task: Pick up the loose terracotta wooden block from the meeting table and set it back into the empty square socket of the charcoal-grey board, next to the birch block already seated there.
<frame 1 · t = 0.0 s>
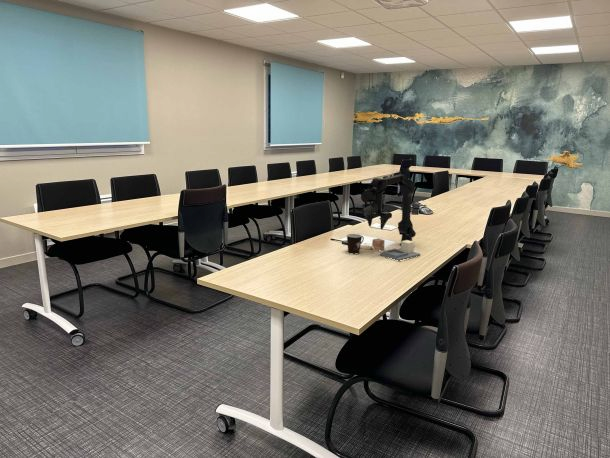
hand: (375, 227, 242), 15 cm above the table, tool pointing down, fingers open, 9 cm apart
coffee mug: (356, 252, 245), on the table
socket board: (399, 255, 240), on the table
terracotta block: (378, 249, 252), on the table
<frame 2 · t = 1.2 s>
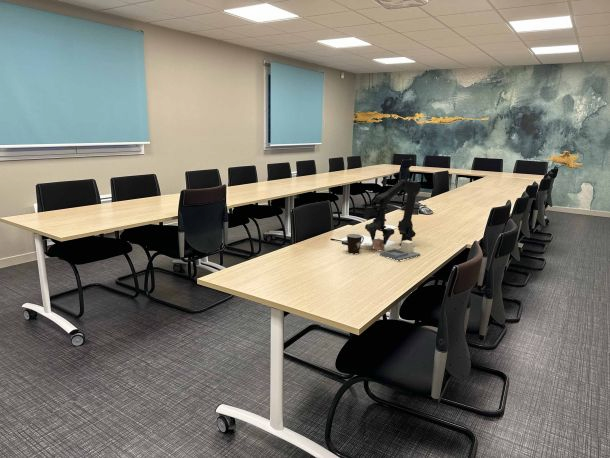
hand: (378, 243, 251), 4 cm above the table, tool pointing down, fingers open, 9 cm apart
nothing on the table moved.
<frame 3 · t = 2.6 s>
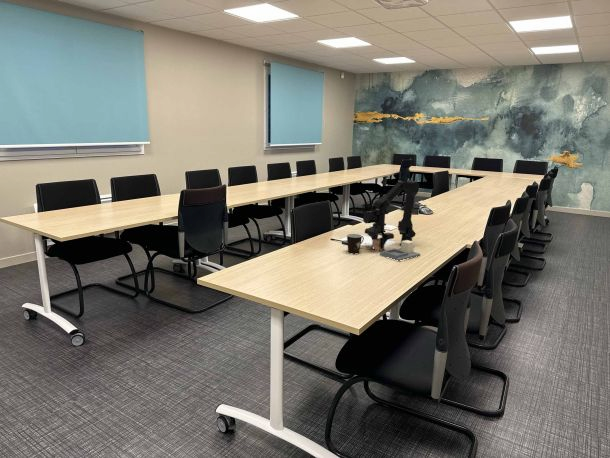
hand: (378, 247, 252), 1 cm above the table, tool pointing down, fingers closed on terracotta block, 5 cm apart
terracotta block: (378, 249, 252), on the table, touching gripper
everything else where it was.
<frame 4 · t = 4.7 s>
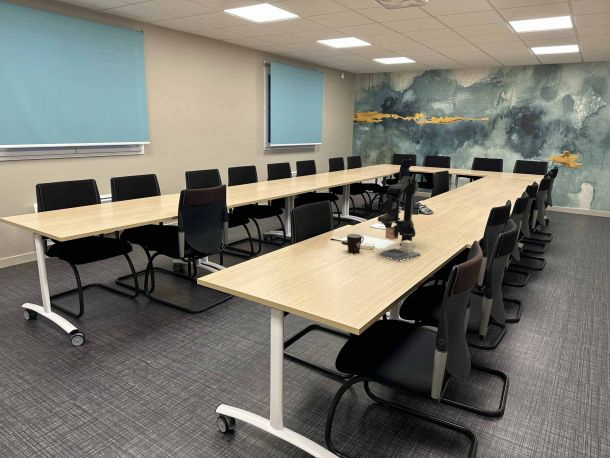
hand: (392, 236, 238), 11 cm above the table, tool pointing down, fingers closed on terracotta block, 5 cm apart
terracotta block: (391, 238, 238), point 10 cm above the table, touching gripper
everything else where it was.
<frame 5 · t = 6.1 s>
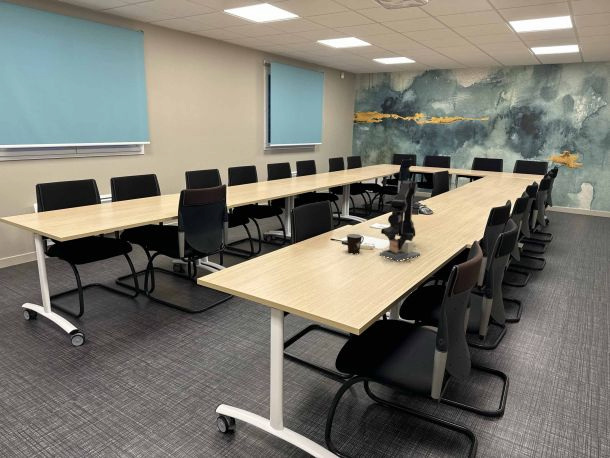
hand: (395, 248, 237), 5 cm above the table, tool pointing down, fingers closed on terracotta block, 5 cm apart
terracotta block: (395, 250, 237), point 4 cm above the table, touching gripper
everything else where it was.
when the fingers open (4 cm above the table, at t = 7.1 s): terracotta block drops 1 cm, resting on socket board.
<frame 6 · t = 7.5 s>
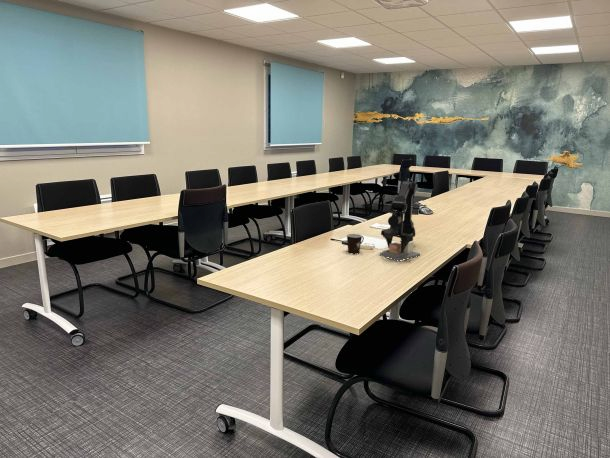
hand: (395, 250, 237), 4 cm above the table, tool pointing down, fingers open, 9 cm apart
terracotta block: (395, 254, 237), point 1 cm above the table, touching socket board
everything else where it was.
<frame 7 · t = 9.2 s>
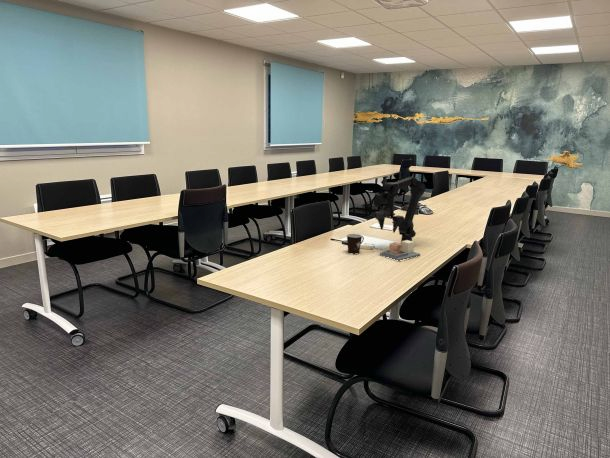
hand: (387, 230, 249), 11 cm above the table, tool pointing down, fingers open, 9 cm apart
nothing on the table moved.
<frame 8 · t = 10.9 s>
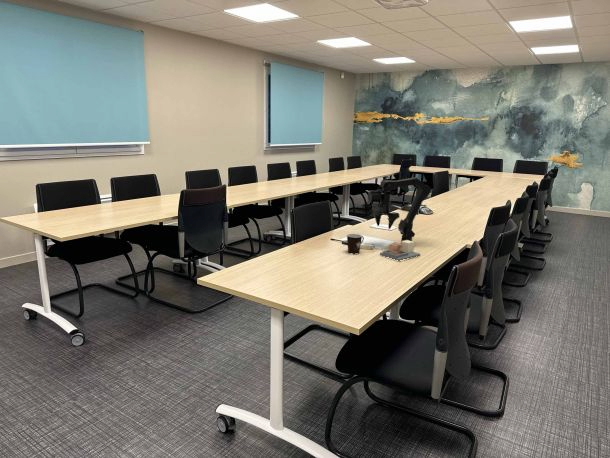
hand: (383, 227, 255), 12 cm above the table, tool pointing down, fingers open, 9 cm apart
nothing on the table moved.
at the end: terracotta block 0.0 cm from the target spot on the socket board, point 1.5 cm above the socket board's base; terracotta block tilted 0°; the gripper is holding nothing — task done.
